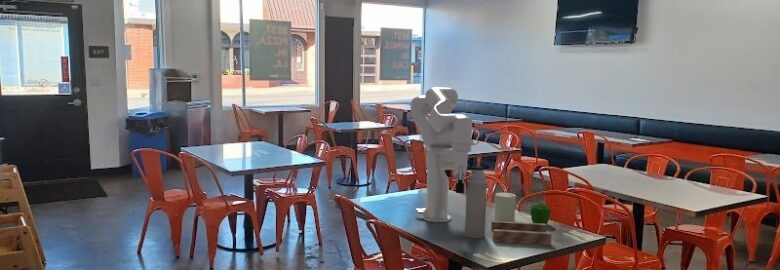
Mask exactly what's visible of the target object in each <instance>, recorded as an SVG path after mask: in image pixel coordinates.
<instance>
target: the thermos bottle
mask: <svg viewBox="0 0 780 270" xmlns="http://www.w3.org/2000/svg"><path fill="white" fill-rule="evenodd" d="M470 169H471V170H470V171H471V173H470V174H469V175H468V179H467V180H466V192H465V193H466V194H465V195H466V196H465V219H464V236H465V237H466V238H472V239H481V238H485V236H486V235H485V231H486V230H485V229H486V215H487V214H486V210H487V197H488V196H487V194H488V193H487V192H488V191H487V189H488V181H487V180H486V175H485V174H484V173H485V171H484V170H485V168H484V166H480V165H477V166H476V165H475V166H471V168H470Z"/></svg>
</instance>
